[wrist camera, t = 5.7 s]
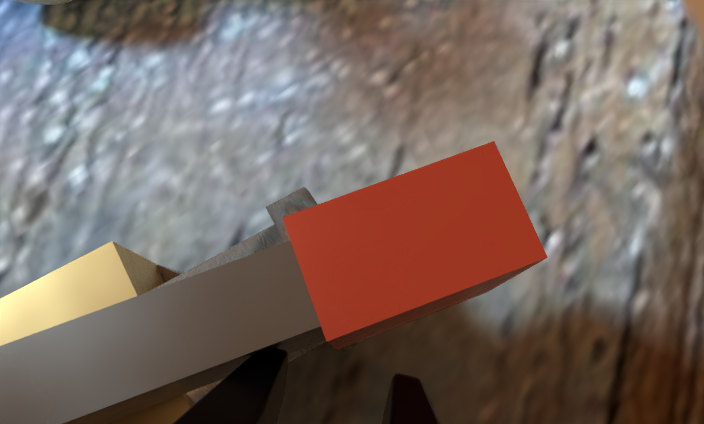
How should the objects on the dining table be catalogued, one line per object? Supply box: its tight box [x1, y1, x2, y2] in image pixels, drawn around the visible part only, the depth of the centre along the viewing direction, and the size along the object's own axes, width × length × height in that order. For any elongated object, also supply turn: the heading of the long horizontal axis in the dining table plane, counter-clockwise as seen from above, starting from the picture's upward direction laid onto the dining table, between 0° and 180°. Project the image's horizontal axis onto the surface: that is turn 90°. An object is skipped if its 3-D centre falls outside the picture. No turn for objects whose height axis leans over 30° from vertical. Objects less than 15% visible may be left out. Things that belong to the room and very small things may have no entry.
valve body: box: [0, 187, 365, 424], centre depth 14 cm, size 5×15×4 cm, turn 119°
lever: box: [0, 141, 547, 424], centre depth 10 cm, size 11×3×4 cm, turn 110°
